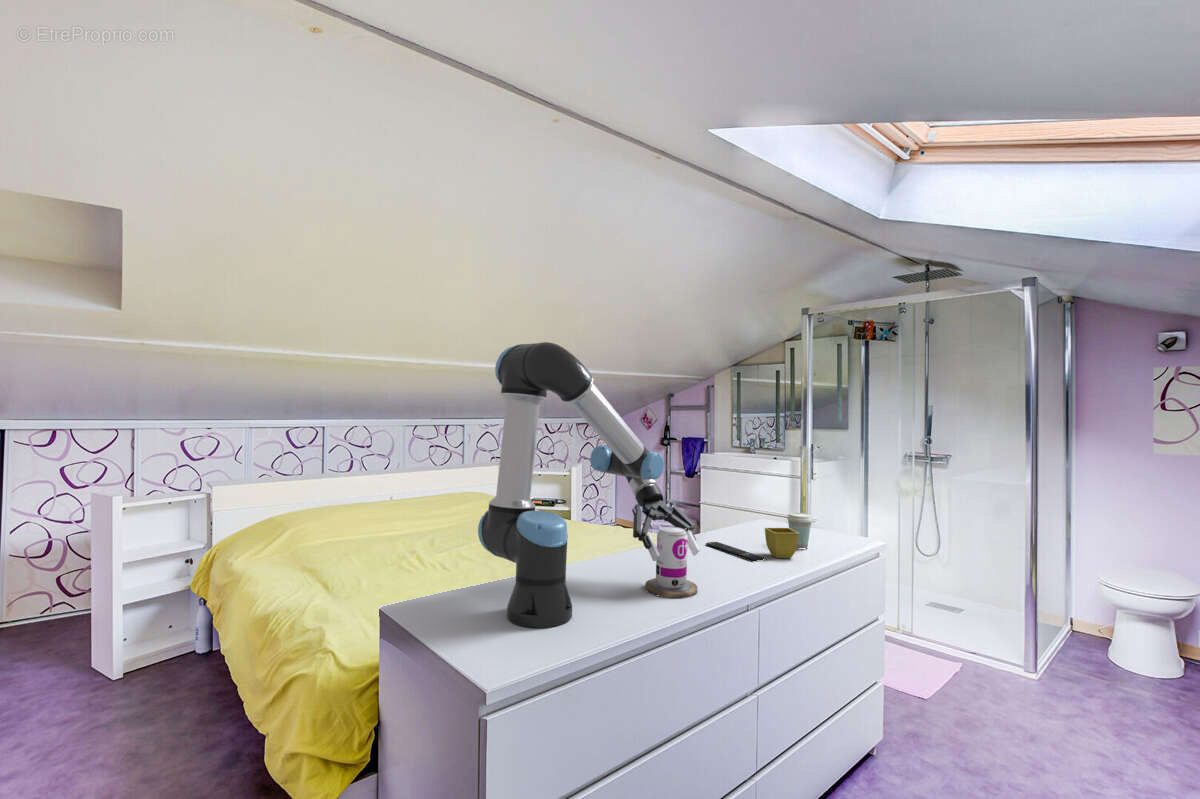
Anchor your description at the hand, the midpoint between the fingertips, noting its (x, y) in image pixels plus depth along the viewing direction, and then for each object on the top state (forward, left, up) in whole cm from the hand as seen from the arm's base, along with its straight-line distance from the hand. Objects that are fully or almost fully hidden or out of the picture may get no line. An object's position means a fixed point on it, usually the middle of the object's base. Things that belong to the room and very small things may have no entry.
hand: (677, 555), depth 154 cm
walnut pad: (0, +2, -10) cm, 10 cm away
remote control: (+45, +25, -10) cm, 52 cm away
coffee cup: (+72, +20, -10) cm, 75 cm away
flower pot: (+56, +14, -10) cm, 59 cm away
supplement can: (0, +2, -9) cm, 9 cm away
